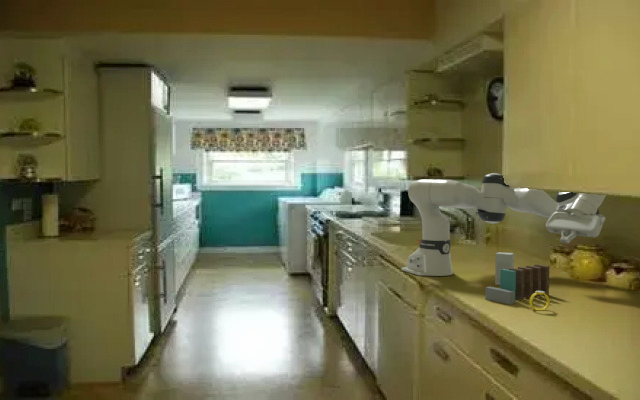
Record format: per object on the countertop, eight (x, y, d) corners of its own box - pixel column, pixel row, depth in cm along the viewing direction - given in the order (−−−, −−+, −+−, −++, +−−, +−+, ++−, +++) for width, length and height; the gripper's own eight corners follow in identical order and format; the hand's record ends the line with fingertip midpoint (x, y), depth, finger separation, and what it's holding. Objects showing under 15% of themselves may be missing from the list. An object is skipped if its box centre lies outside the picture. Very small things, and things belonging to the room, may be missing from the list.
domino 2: (520, 300, 210) (521, 270, 209) (508, 297, 214) (509, 268, 213) (523, 299, 210) (524, 269, 210) (511, 296, 215) (512, 267, 214)
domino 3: (529, 298, 212) (530, 269, 211) (517, 295, 216) (517, 267, 216) (532, 297, 213) (533, 268, 212) (520, 295, 217) (520, 266, 216)
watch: (545, 309, 197) (547, 291, 197) (550, 311, 194) (551, 292, 194) (527, 308, 196) (529, 290, 196) (531, 310, 193) (533, 291, 193)
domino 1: (512, 301, 207) (512, 271, 206) (499, 298, 211) (500, 269, 210) (515, 301, 208) (515, 271, 207) (503, 298, 212) (503, 269, 211)
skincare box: (513, 284, 236) (514, 253, 235) (511, 286, 233) (511, 254, 232) (497, 283, 239) (498, 251, 239) (494, 285, 236) (495, 253, 235)
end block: (485, 299, 211) (485, 287, 210) (490, 298, 212) (490, 286, 212) (509, 304, 202) (509, 292, 202) (514, 303, 204) (514, 291, 204)
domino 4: (537, 296, 215) (538, 267, 214) (525, 294, 219) (526, 265, 218) (540, 296, 216) (541, 267, 215) (528, 293, 220) (529, 265, 219)
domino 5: (545, 295, 217) (546, 266, 217) (533, 292, 221) (534, 264, 221) (548, 294, 218) (549, 266, 217) (536, 292, 222) (537, 264, 222)
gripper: (610, 221, 224) (594, 250, 219) (560, 217, 240) (543, 244, 235) (604, 209, 221) (587, 238, 216) (553, 206, 238) (536, 233, 233)
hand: (564, 241), depth 226 cm, fingers closed
